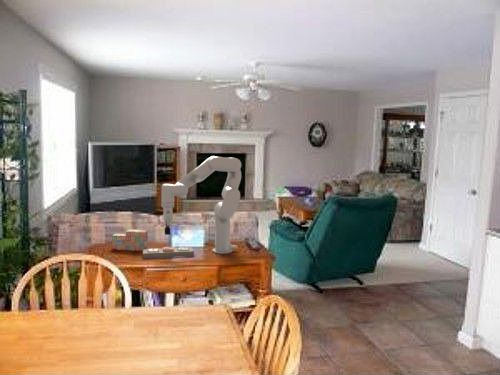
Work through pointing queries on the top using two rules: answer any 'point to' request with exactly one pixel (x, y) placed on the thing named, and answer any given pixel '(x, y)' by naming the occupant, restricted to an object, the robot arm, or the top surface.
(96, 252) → the top surface
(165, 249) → the tile three
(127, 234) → the stack of blocks
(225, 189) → the robot arm
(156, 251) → the tile one
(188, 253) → the tile panel
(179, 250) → the tile two
